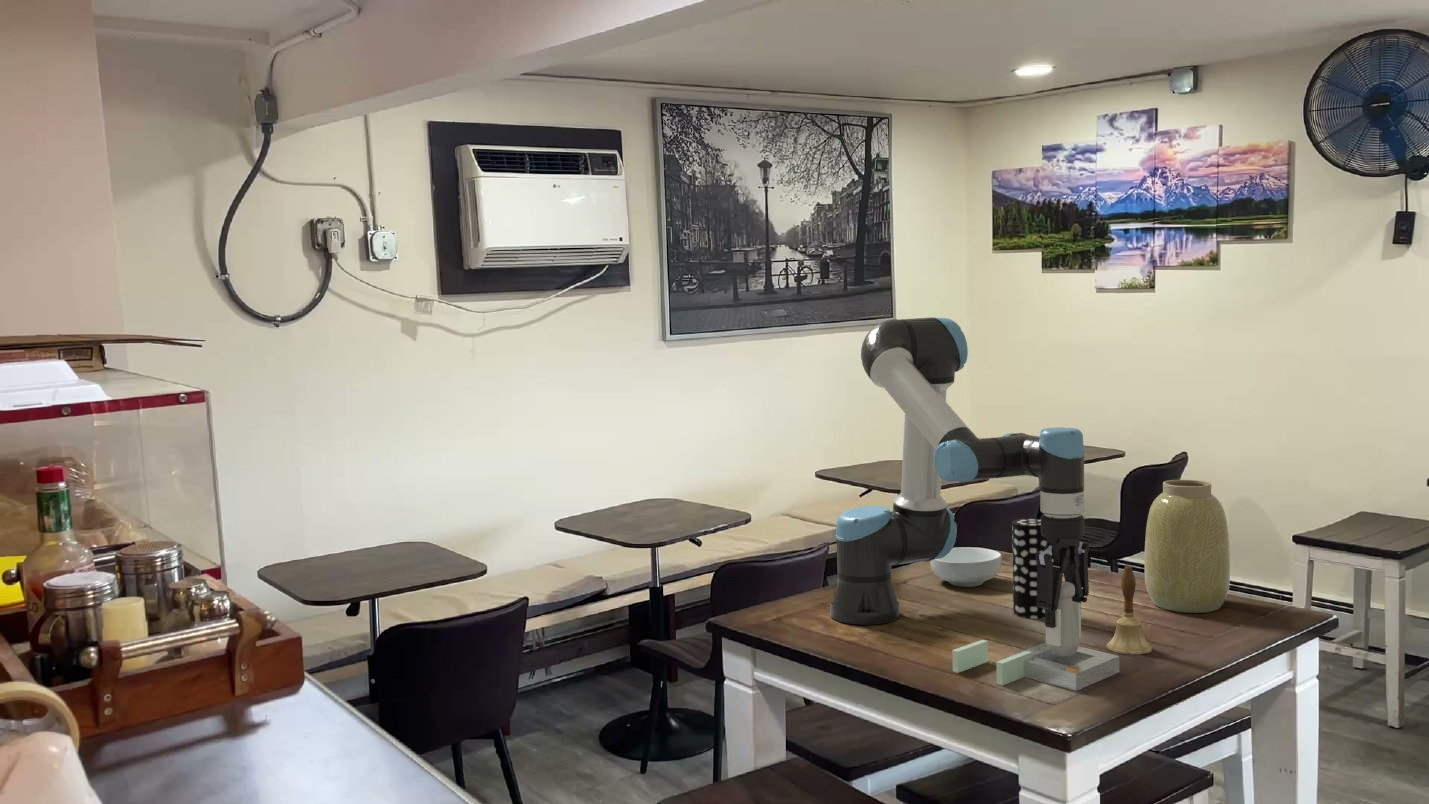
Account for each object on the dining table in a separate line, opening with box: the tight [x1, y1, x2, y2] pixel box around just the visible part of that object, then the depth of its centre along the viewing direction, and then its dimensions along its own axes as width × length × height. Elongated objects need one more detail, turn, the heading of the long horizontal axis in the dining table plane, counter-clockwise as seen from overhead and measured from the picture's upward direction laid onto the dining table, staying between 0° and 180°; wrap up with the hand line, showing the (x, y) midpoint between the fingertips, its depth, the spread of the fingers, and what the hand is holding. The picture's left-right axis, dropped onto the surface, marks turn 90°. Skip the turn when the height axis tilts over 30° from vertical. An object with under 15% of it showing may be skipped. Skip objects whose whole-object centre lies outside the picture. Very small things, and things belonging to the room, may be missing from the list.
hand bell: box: [1106, 566, 1153, 656], centre depth 215 cm, size 8×8×16 cm
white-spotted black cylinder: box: [1011, 518, 1047, 620], centre depth 241 cm, size 8×8×20 cm
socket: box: [1007, 641, 1120, 692], centre depth 203 cm, size 14×14×4 cm
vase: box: [1143, 479, 1231, 614], centre depth 243 cm, size 17×17×27 cm
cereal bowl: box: [929, 546, 1002, 588], centre depth 270 cm, size 17×17×7 cm
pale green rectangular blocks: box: [951, 639, 1032, 686], centre depth 204 cm, size 11×9×4 cm
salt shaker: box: [1048, 580, 1081, 656], centre depth 203 cm, size 6×6×13 cm
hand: (1063, 640), depth 203 cm, fingers closed on salt shaker, 6 cm apart
